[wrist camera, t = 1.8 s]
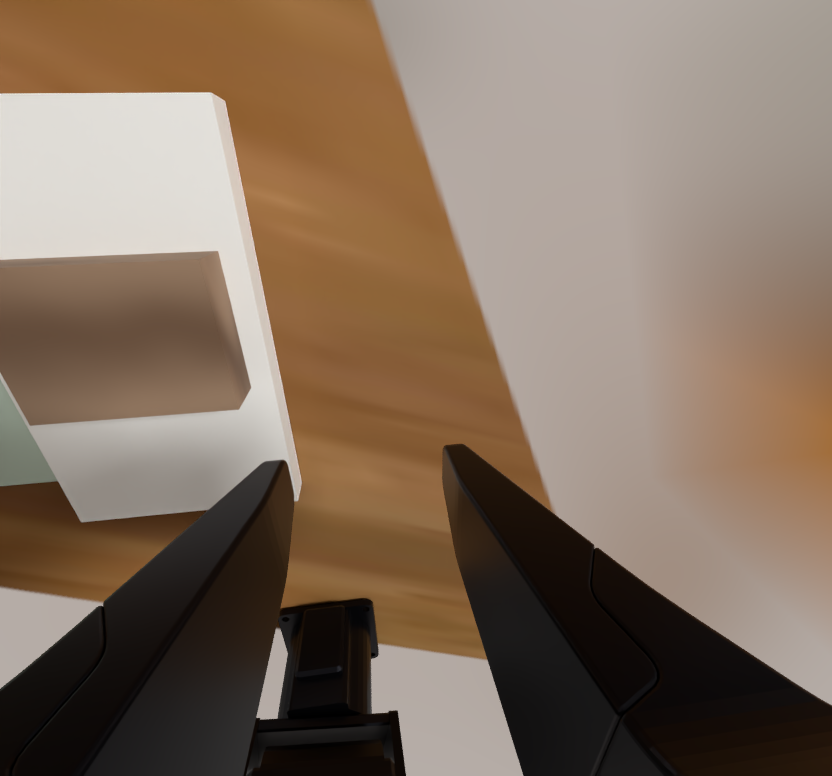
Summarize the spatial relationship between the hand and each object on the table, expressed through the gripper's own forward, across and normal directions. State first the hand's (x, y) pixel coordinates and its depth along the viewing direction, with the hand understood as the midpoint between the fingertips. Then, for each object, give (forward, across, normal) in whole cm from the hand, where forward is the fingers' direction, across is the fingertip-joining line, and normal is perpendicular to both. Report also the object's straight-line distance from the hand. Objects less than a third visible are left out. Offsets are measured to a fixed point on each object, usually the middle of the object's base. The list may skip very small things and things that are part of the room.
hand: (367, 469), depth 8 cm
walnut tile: (+10, +10, 0) cm, 14 cm away
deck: (+12, +10, +1) cm, 16 cm away
